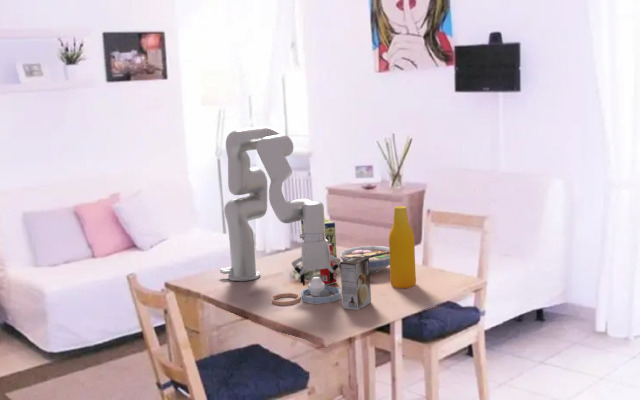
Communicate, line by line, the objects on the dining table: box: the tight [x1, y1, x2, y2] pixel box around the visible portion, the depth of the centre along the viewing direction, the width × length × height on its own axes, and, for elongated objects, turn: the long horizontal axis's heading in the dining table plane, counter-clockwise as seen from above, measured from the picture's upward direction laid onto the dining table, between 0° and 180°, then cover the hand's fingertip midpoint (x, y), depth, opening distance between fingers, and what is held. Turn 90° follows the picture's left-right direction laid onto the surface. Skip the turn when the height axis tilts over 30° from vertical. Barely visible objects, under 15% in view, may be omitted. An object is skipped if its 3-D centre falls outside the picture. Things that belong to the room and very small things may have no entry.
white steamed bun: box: [307, 276, 326, 297], centre depth 277 cm, size 6×6×7 cm
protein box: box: [300, 217, 338, 258], centre depth 331 cm, size 10×16×16 cm
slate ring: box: [300, 285, 342, 305], centre depth 275 cm, size 14×14×2 cm
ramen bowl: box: [339, 245, 390, 274], centre depth 305 cm, size 25×23×8 cm
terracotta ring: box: [270, 292, 301, 306], centre depth 274 cm, size 10×10×1 cm
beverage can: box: [319, 243, 337, 286], centre depth 291 cm, size 6×6×15 cm
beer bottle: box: [388, 205, 417, 289], centre depth 282 cm, size 9×9×29 cm
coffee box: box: [339, 256, 372, 311], centre depth 263 cm, size 9×6×16 cm
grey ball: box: [319, 290, 330, 297], centre depth 272 cm, size 4×4×4 cm
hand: (317, 283), depth 277 cm, fingers open, 9 cm apart
